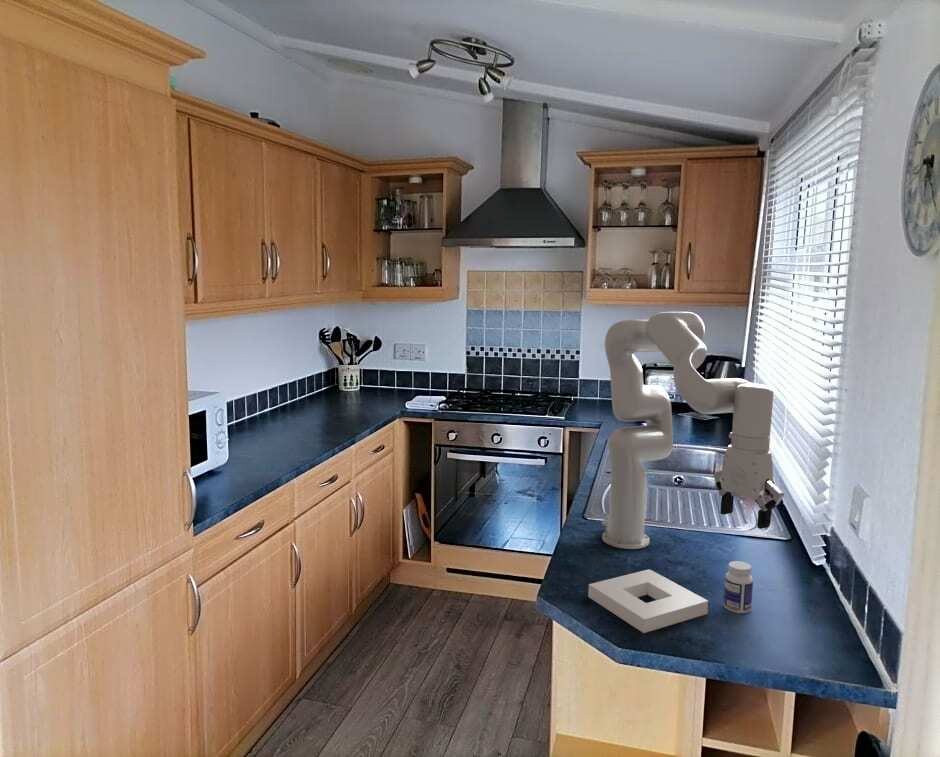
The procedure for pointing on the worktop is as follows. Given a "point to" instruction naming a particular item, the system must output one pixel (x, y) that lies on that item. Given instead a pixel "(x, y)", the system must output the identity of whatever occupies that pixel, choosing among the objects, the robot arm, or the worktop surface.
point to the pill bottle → (738, 587)
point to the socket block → (649, 616)
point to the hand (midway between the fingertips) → (744, 520)
